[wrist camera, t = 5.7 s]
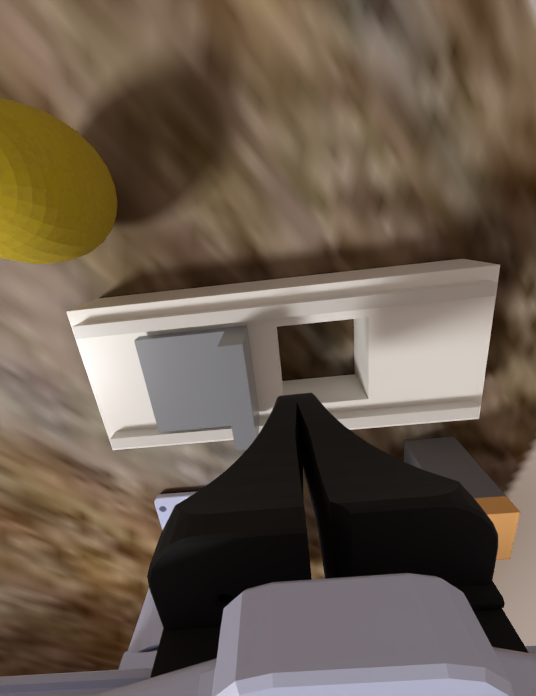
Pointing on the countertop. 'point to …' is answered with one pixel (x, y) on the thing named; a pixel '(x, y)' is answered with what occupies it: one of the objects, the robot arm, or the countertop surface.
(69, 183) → the lemon
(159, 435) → the socket board
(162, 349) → the shutter
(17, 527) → the countertop surface
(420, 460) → the orange and grey block
